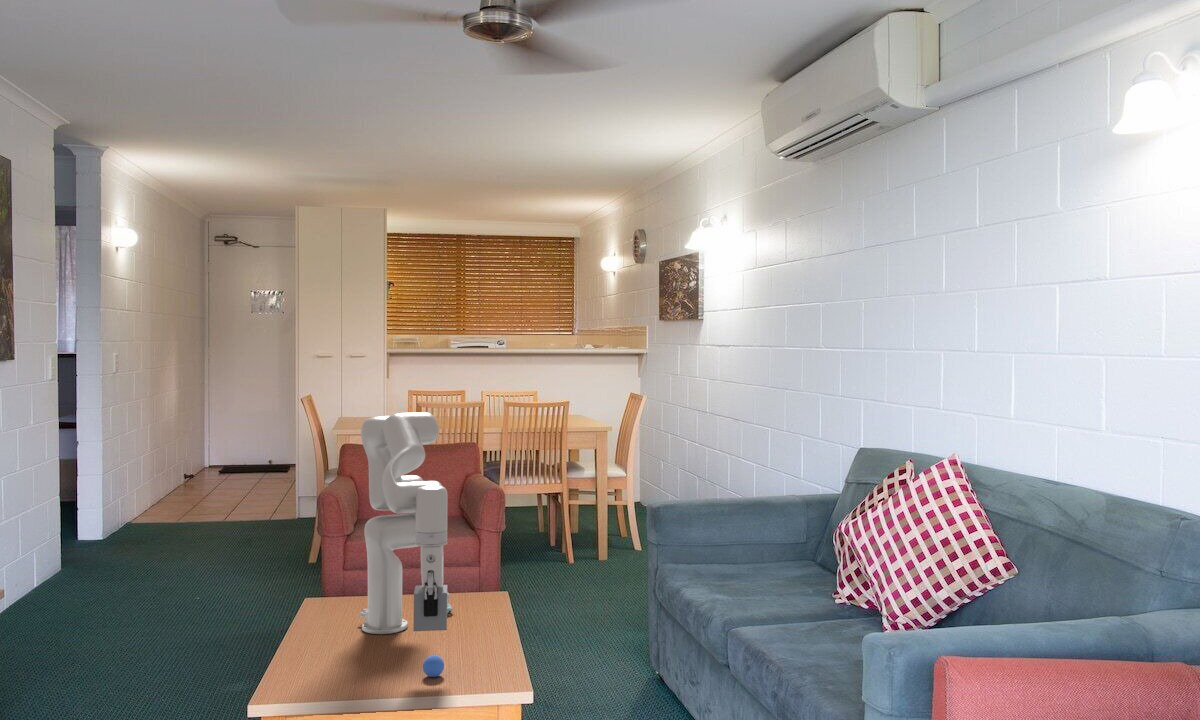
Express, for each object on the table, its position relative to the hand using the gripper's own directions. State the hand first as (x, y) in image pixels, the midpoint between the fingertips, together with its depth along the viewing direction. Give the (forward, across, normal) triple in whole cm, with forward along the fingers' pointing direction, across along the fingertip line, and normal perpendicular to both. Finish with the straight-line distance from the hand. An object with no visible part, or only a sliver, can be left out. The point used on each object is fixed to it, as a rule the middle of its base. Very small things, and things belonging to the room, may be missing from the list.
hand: (431, 610), depth 221 cm
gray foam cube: (+4, 0, 0) cm, 4 cm away
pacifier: (+16, +54, -2) cm, 57 cm away
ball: (+13, 0, -1) cm, 13 cm away
